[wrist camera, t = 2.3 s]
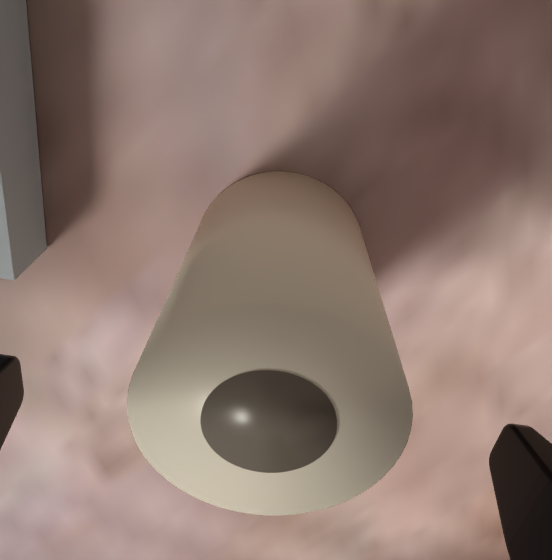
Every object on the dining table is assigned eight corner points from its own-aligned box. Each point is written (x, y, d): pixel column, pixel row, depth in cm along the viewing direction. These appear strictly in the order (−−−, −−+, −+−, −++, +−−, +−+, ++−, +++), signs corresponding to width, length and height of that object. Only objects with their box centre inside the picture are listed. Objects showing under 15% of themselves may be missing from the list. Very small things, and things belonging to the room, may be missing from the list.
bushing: (343, 332, 16) (373, 531, 10) (191, 310, 16) (125, 500, 10) (381, 186, 14) (452, 329, 8) (203, 158, 13) (126, 282, 7)
